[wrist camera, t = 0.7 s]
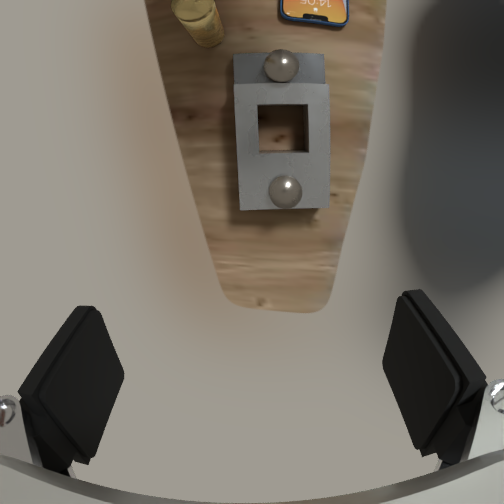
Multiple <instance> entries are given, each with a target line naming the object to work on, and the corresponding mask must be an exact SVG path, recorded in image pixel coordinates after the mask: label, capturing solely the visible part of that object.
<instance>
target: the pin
mask: <svg viewBox="0 0 504 504" xmlns="http://www.w3.org/2000/svg"><path fill="white" fill-rule="evenodd" d="M171 9H172V11H173V13H174V14H175V15H176V17H177V18H178V19H179V21H180V22H181V23H182V24H183V26H184V27H185V28H186V30H187V31H188V32H189V34H190V35H191V36H192V38H193V39H194V40H195V42H196V43H197V44H198V45H200V46H202V47H206V48H210V47H214V46H216V45H218V44H219V43H220V42H221V41H222V40H223V38H224V29H223V26H222V23H221V20H220V17H219V14H218V11H217V8H216V5H215V2H214V0H172V2H171Z"/></svg>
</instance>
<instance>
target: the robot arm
mask: <svg viewBox="0 0 504 504" xmlns="http://www.w3.org/2000/svg"><path fill="white" fill-rule="evenodd" d="M382 364H383V370H384V372H385V374H386V377H387V379H388V382H389V384H390V386H391V388H392V391H393V394H394V396H395V399H396V401H397V403H398V406H399V408H400V411H401V414H402V416H403V419H404V421H405V424H406V427H407V429H408V432H409V435H410V437H411V440H412V443H413V445H414V447H415V449H417V450H418V449H420V452H421V455H422V457H424V456H427V455H430V454H433V453H437V455H438V458H439V461H438V463H437V466H436V468H435V470H434V472H433V473H430V474H426V475H424V476H420V477H417V478H413V479H410V480H406V481H403V482H399V483H396V484H392V485H388V486H384V487H380V488H376V489H371V490H367V491H362V492H357V493H352V494H346V495H340V496H334V497H327V498H321V499H312V500H303V501H292V502H278V503H251V504H504V379H499V380H494V381H492V382H490V383H489V385H488V384H487V383H486V381H485V379H486V376H485V374H484V373H483V371H482V370H481V368H480V367H479V365H478V364H477V362H476V361H475V359H474V358H473V357H472V355H471V354H470V352H469V351H468V349H467V348H466V347H465V345H464V344H463V342H462V341H461V340H460V338H459V337H458V335H457V334H456V333H455V331H454V330H453V329H452V328H451V326H450V325H449V323H448V322H447V321H446V320H445V318H444V317H443V316H442V314H441V313H440V312H439V310H438V309H437V308H436V307H435V305H434V304H433V303H432V302H431V300H430V299H429V298H428V297H427V296H426V294H425V293H424V292H423V291H422V290H420V289H418V290H410V291H404V292H403V293H402V296H399V297H398V299H397V302H396V307H395V311H394V316H393V321H392V325H391V329H390V334H389V338H388V341H387V345H386V349H385V353H384V356H383V361H382ZM123 380H124V370H123V367H122V365H121V363H120V360H119V358H118V356H117V353H116V351H115V349H114V346H113V344H112V341H111V339H110V336H109V334H108V331H107V329H106V326H105V323H104V320H103V318H102V315H101V313H100V312H99V311H98V310H96V308H95V307H94V306H77V307H76V308H75V309H74V311H73V312H72V313H71V314H70V316H69V317H68V318H67V320H66V321H65V323H64V324H63V325H62V327H61V328H60V329H59V331H58V332H57V334H56V335H55V336H54V338H53V339H52V340H51V342H50V343H49V345H48V346H47V348H46V349H45V350H44V352H43V354H42V355H41V356H40V358H39V359H38V361H37V363H36V364H35V365H34V367H33V368H32V370H31V371H30V373H29V374H28V376H27V377H26V379H25V381H24V382H23V384H22V385H21V387H20V388H19V390H18V393H19V395H20V396H21V397H22V398H21V399H20V401H18V399H16V398H15V397H14V396H11V395H5V396H0V504H250V503H210V502H196V501H185V500H176V499H167V498H161V497H153V496H148V495H142V494H136V493H130V492H126V491H121V490H117V489H112V488H108V487H104V486H100V485H96V484H92V483H89V482H85V481H82V480H78V479H77V478H76V476H75V473H74V471H73V469H72V466H71V463H72V461H73V460H74V461H75V462H79V463H83V464H86V465H89V462H90V459H91V458H92V457H94V456H95V454H96V452H97V449H98V446H99V443H100V440H101V438H102V435H103V432H104V430H105V427H106V424H107V421H108V419H109V416H110V413H111V410H112V408H113V406H114V403H115V400H116V398H117V395H118V393H119V390H120V387H121V385H122V383H123Z"/></svg>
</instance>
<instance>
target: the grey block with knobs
mask: <svg viewBox="0 0 504 504" xmlns="http://www.w3.org/2000/svg"><path fill="white" fill-rule="evenodd" d="M233 63H234V103H235V123H236V143H237V162H238V181H239V199H240V210H263V209H295V208H329V199H330V101H329V84H325V68H324V54H313V53H292V52H290V51H287V50H283V49H279V50H275V51H272V52H271V53H243V54H233ZM257 106H303V118H304V150H268V151H259V136H258V112H257Z"/></svg>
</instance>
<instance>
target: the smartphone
mask: <svg viewBox="0 0 504 504" xmlns="http://www.w3.org/2000/svg"><path fill="white" fill-rule="evenodd" d="M280 13H281V16H282V17H283V18H285V19H287V20H290V21H300V22H308V23H316V24H323V25H330V26H336V27H342V26H344V25H345V24H346V23H347V22H348V20H349V0H280Z"/></svg>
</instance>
